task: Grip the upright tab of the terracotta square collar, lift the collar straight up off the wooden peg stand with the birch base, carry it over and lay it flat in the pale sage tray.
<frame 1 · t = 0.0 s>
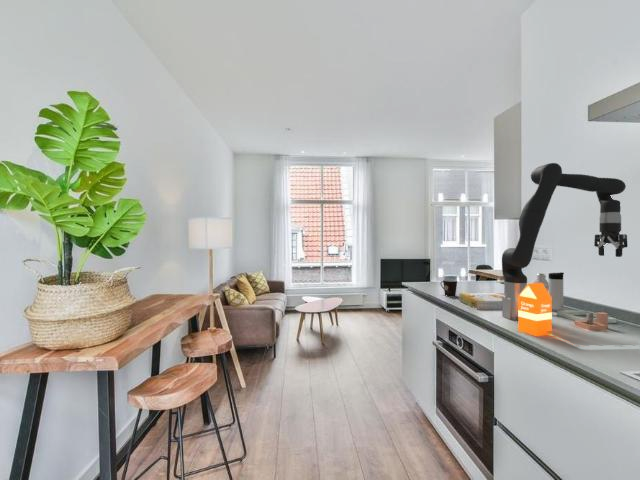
hand: (610, 256, 146), 29 cm above the worktop, tool pointing down, fingers open, 8 cm apart
wooden peg stand: (589, 330, 127), on the worktop
orange juice: (534, 332, 125), on the worktop
travel mug: (556, 310, 160), on the worktop
tray: (585, 321, 141), on the worktop
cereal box: (491, 306, 175), on the worktop
plastic bottle: (541, 313, 155), on the worktop
collar: (589, 327, 127), point 1 cm above the worktop, touching wooden peg stand
coffee mug: (449, 295, 204), on the worktop
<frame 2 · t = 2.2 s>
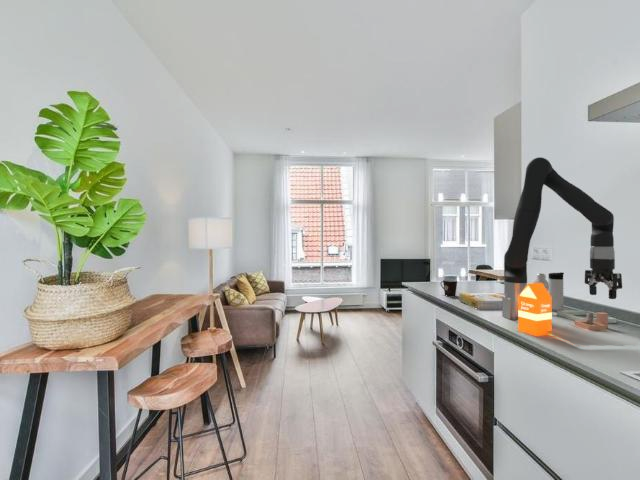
hand: (602, 296, 126), 14 cm above the worktop, tool pointing down, fingers open, 8 cm apart
nothing on the worktop moved.
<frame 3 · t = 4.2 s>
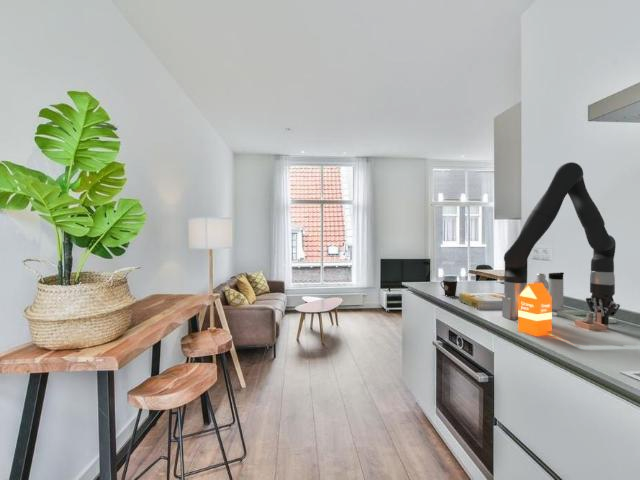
hand: (601, 324, 127), 3 cm above the worktop, tool pointing down, fingers closed on collar
collar: (590, 327, 127), point 1 cm above the worktop, touching gripper
everything else where it was.
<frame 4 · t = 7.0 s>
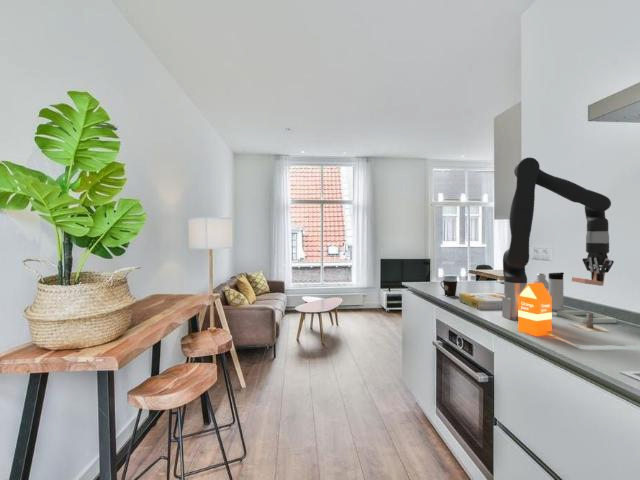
hand: (597, 281, 134), 19 cm above the worktop, tool pointing down, fingers closed on collar
collar: (586, 283, 134), point 18 cm above the worktop, tilted 8°, touching gripper
everything else where it was.
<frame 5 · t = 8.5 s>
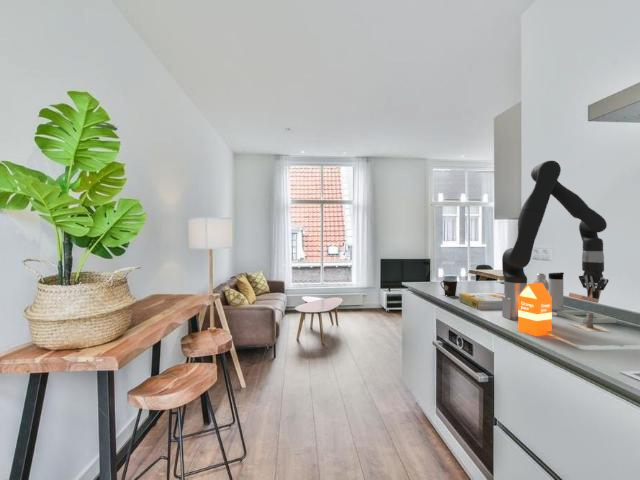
hand: (593, 298, 140), 10 cm above the worktop, tool pointing down, fingers closed on collar
collar: (582, 299, 140), point 10 cm above the worktop, tilted 13°, touching gripper
everything else where it was.
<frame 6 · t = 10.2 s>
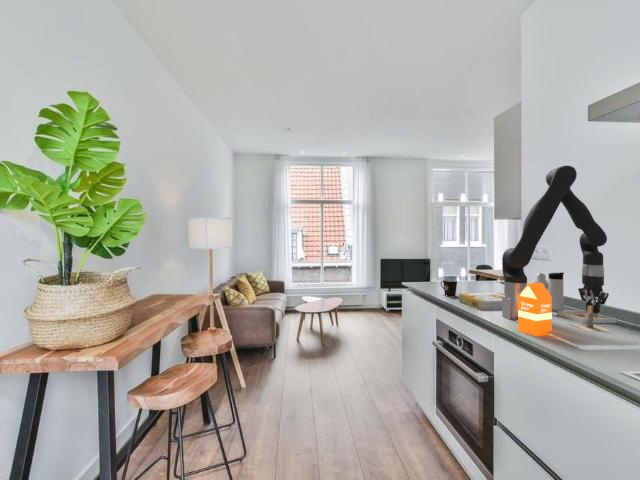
hand: (592, 312, 140), 4 cm above the worktop, tool pointing down, fingers open, 3 cm apart
collar: (581, 319, 140), point 1 cm above the worktop, touching tray
everything else where it was.
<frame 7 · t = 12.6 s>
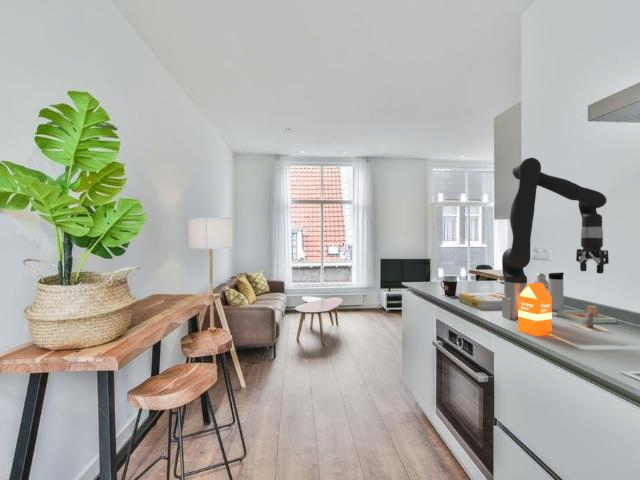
hand: (591, 272, 141), 22 cm above the worktop, tool pointing down, fingers open, 8 cm apart
nothing on the worktop moved.
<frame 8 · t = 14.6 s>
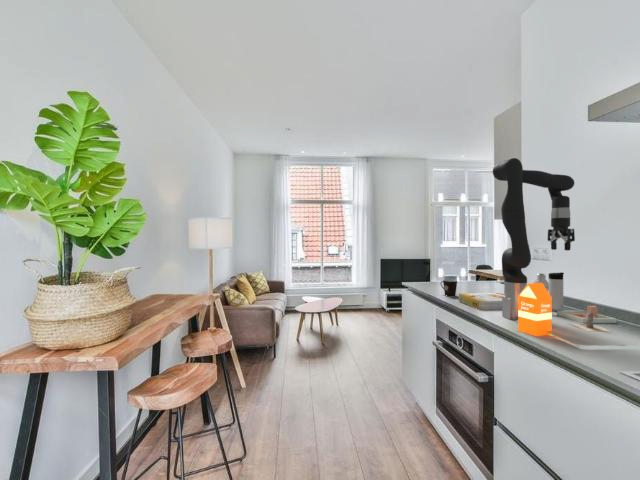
hand: (560, 250, 152), 32 cm above the worktop, tool pointing down, fingers open, 8 cm apart
nothing on the worktop moved.
at the end: collar inside the target area on the tray (1.7 cm from its centre), point 0.8 cm above the tray's base; collar tilted 0°; the gripper is holding nothing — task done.
